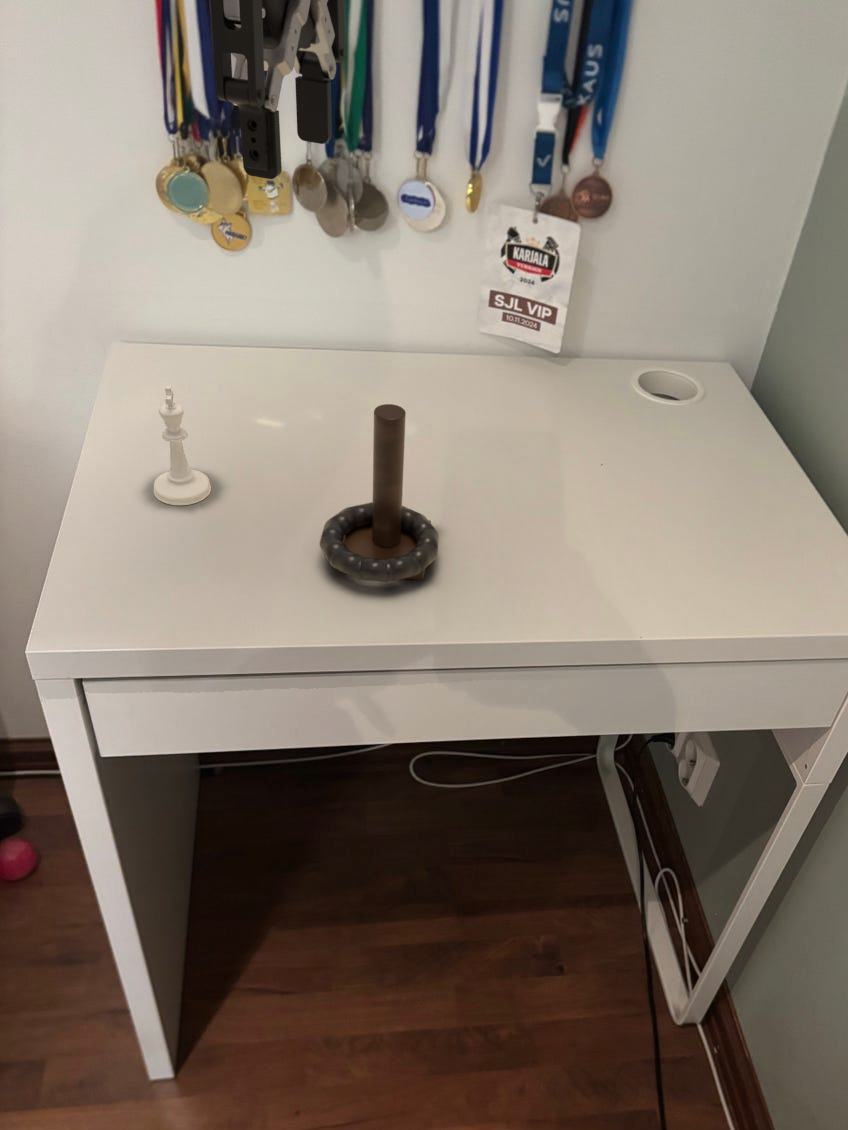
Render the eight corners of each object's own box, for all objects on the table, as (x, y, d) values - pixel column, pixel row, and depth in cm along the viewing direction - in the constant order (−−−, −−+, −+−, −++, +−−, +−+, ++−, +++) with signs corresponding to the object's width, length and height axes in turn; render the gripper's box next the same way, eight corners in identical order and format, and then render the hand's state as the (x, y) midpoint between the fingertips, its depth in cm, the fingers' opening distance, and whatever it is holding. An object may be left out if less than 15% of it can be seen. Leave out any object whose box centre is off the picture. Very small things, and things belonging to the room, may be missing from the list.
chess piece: (150, 505, 83) (132, 401, 76) (157, 475, 87) (140, 372, 80) (208, 505, 84) (196, 402, 77) (213, 475, 87) (201, 374, 81)
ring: (312, 580, 76) (311, 562, 74) (330, 511, 83) (330, 494, 81) (433, 590, 76) (434, 573, 75) (441, 521, 83) (442, 504, 82)
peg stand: (338, 572, 78) (336, 429, 70) (350, 523, 84) (350, 385, 75) (423, 580, 79) (432, 439, 70) (430, 531, 84) (439, 394, 75)
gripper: (265, -178, 57) (279, 123, 67) (144, -178, 46) (184, 178, 57) (385, -163, 56) (380, 140, 66) (290, -160, 45) (302, 200, 56)
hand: (290, 157), depth 62 cm, fingers open, 8 cm apart
